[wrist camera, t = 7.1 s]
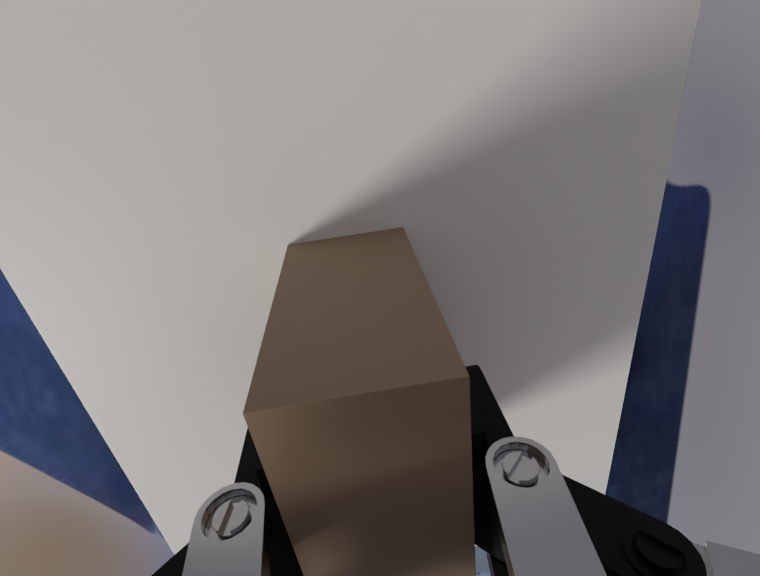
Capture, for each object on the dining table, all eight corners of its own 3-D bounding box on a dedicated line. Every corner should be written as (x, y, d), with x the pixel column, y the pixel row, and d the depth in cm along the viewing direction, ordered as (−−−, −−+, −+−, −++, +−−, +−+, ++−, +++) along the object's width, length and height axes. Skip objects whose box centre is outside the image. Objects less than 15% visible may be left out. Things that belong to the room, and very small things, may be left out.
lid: (-76, -10, 9) (-1421, -275, 2) (653, -106, 10) (1510, -583, 3) (212, 542, 19) (139, 826, 12) (572, 479, 20) (711, 716, 12)
